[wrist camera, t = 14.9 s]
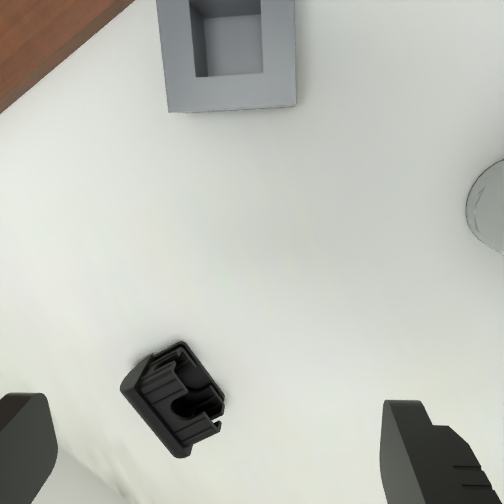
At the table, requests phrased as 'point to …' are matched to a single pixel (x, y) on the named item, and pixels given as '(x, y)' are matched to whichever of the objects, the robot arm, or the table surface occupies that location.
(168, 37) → the grey square socket block
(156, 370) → the end cap
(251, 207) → the table surface
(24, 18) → the flat brown board
